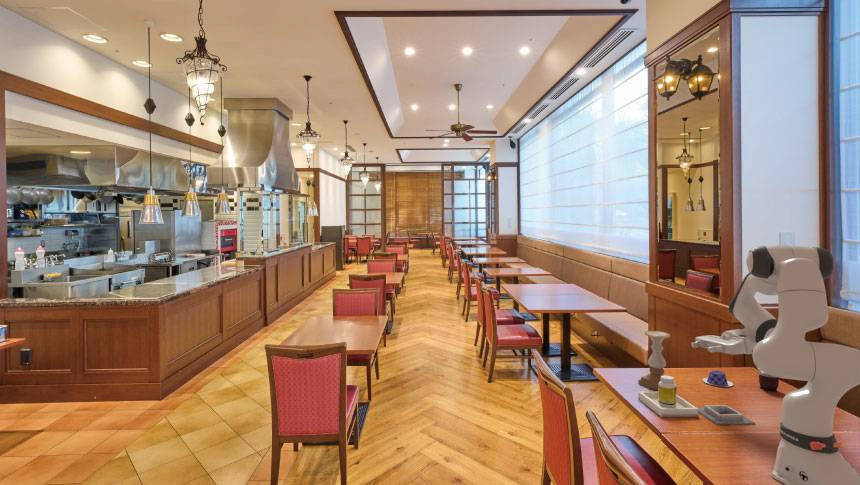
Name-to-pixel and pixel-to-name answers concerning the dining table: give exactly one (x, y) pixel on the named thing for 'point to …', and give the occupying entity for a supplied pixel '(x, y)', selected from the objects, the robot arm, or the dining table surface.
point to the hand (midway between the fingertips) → (700, 347)
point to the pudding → (717, 379)
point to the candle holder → (655, 361)
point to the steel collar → (724, 415)
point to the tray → (679, 410)
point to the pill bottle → (667, 391)
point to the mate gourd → (768, 382)
